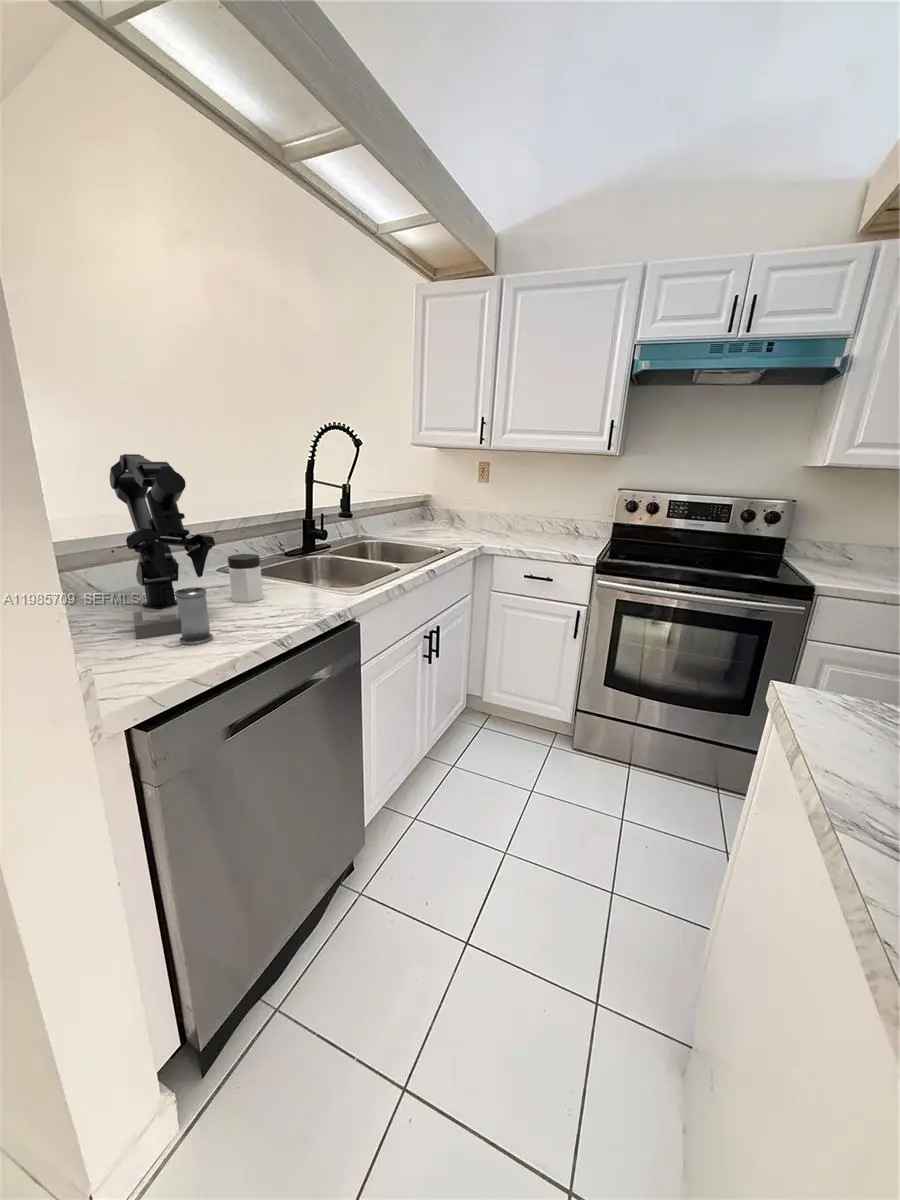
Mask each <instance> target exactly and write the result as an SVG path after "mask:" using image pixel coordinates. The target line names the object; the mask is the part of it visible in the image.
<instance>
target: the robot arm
mask: <svg viewBox="0 0 900 1200" xmlns="http://www.w3.org/2000/svg"><path fill="white" fill-rule="evenodd" d="M109 485H110V487H111V489H112V490H114V492H115V496H116V497H117V499H119V500H121V501H122V502H123V503H124V504H126V507H127V509H128V512H129V515H130V518H131V521H132V524H133V527H134V531H132V532H131V533H130V534H128V535H127V537H126V541H125V542H126V545H127V549H128V550H134V552H135V553H139V557H138V562H137V565H136V566H137V567H136V573H135V575H136V576H135V577H136V581H137V583H138V584H139V585H140V586H141V587H143V586H144V591H145V596H146V602H145V603H144V602H143V603H141V606H142V607H147V608H152V609H160V610H161V609H162V608H163V609H164V608H167V607H171V606H173V605H177V599H176V596H175V589H174V587H173V582H179V567H180V563H178V562H177V560H176V558H174V556H173V554H172V550H171V548H170V546H179V547H184V550H185V551H186V552H187V553H186V556H187V557H189V558H190V559H191V562H192V565H193V568H194V571H195V574H196V575H197V577H198V578H201V577H203V575H204V571H205V567H206V565H205V564H206V562H207V557H208V555H209V552H210V550H212V549H213V547H215V546H216V541H215V539H214V536H212V535H210V534H202V533H198V534H195V535H193V536H192V537H190V538H187V536H189V535H191V534H190V530H189V529H185V528H184V525H183V524H184V523H183V519H185V518H186V517H185V513H183V512H180V510H179V507H178V503H177V502H179V500H180V499H181V496H182V495H183V493H184V490H185V488H186V480H185V478H184V477H183V476H182V474H180V473H179V472H178V471H176V470H175V469H174V467H173V466H171V465H170V463H169V462H168V461H152V460H149V459H147V458H146V457H145V456H144V455H141V454H132V453H131V454H129V453H128V454H127V453H124V454H120V456H119V461H117V462H115V464H114V465H112V466H111V467H110V469H109ZM149 488H151V489H150V490H148V489H149Z"/></svg>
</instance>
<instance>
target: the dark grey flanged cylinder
mask: <svg viewBox="0 0 900 1200" xmlns="http://www.w3.org/2000/svg"><path fill="white" fill-rule="evenodd" d="M174 595H175V598H176V600H177V604H176V605H177V610H178V611H177V613H178V617H179V620H180V627H181V633H180V634H181V637H179V642H180V644H181V645H184V646H199V645H198V644H200V645H203V643H204V644H207V643H209V641H210V642H211V641H212V640H213V639H214V635H213V634H212V633H211V630H210V621H209V612H208V604H207V589H206V588H204V587H187V588H181V589H178V590H175V591H174Z"/></svg>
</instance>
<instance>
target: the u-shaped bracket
mask: <svg viewBox="0 0 900 1200" xmlns="http://www.w3.org/2000/svg"><path fill="white" fill-rule="evenodd" d="M158 616H159V620H157V621H147V622H144V620H143V619H144V618H143V614H142V611H136V612H135V611H134V612H133V621H134V630H135V635H136V636H135V637H136V640H141V639H148V638H154V637H155V638H157V637H162V636H169V635H175V634H181V627H180V620H179V618H178V617H177V618H176V613H175V612H173V613H164V614H159V615H158Z"/></svg>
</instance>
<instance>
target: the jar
mask: <svg viewBox="0 0 900 1200" xmlns="http://www.w3.org/2000/svg"><path fill="white" fill-rule="evenodd" d="M227 566H228V571H229V572H228V573H229V574H228V575H229V583H230V584H229V585H230V591H231V600H232V602H233V603H245V602H249V603H252V601H253V602H257V601H260V599H261V600H264V594H263V593H264V592H263V580H262V579H263V578H262V571H261V570H262V569H261V559H260V556H259V555H258V554H254V553H241V554H240V553H239V554H232V555H229V556H228V557H227ZM256 600H257V601H256Z"/></svg>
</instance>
